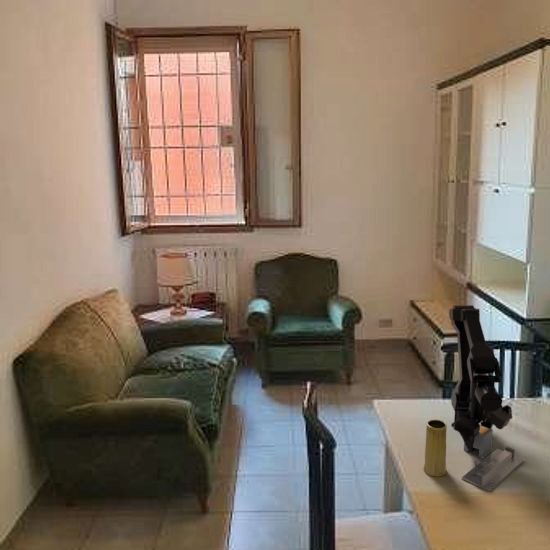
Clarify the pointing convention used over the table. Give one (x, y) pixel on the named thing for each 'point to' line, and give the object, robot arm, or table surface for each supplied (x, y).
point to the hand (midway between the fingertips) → (477, 444)
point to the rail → (499, 472)
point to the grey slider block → (482, 441)
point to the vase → (435, 448)
